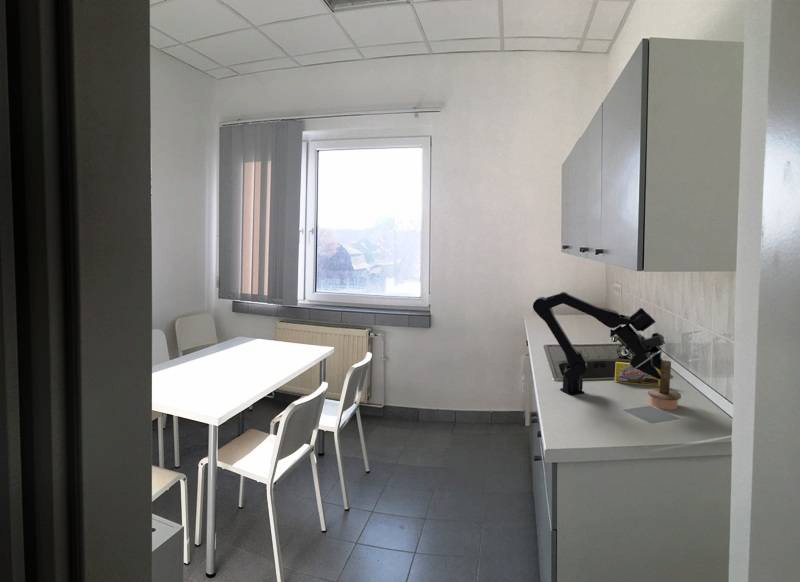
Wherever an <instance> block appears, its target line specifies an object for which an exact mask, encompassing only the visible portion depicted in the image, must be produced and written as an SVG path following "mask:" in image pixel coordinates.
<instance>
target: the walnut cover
mask: <svg viewBox="0 0 800 582" xmlns="http://www.w3.org/2000/svg"><path fill="white" fill-rule="evenodd" d="M671 368H672V362H671V361H670V360H665V359H664V360H663V359H662V361H661V371H660V376H661V379H660V386H659V388H654V387H653V388H649V389H648V390H647V394H648V395H649V396H650V397H651V396H652V397H655V398H658V399H663V400H678V401H679V400H681V399H682V395H681V393H680V392H677V391H676V390H671V389H670V385H671V370H672V369H671Z"/></svg>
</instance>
